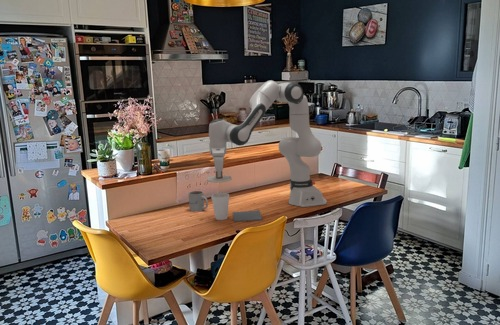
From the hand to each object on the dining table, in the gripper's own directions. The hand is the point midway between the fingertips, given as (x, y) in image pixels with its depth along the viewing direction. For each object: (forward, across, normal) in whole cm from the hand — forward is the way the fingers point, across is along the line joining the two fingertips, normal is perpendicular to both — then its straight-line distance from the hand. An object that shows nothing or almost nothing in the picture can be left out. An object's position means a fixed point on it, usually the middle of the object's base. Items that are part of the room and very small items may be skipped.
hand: (219, 175), depth 227 cm
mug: (+24, -18, -12) cm, 32 cm away
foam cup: (+24, 0, 0) cm, 24 cm away
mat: (+23, 0, +14) cm, 27 cm away
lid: (+2, 0, 0) cm, 2 cm away
